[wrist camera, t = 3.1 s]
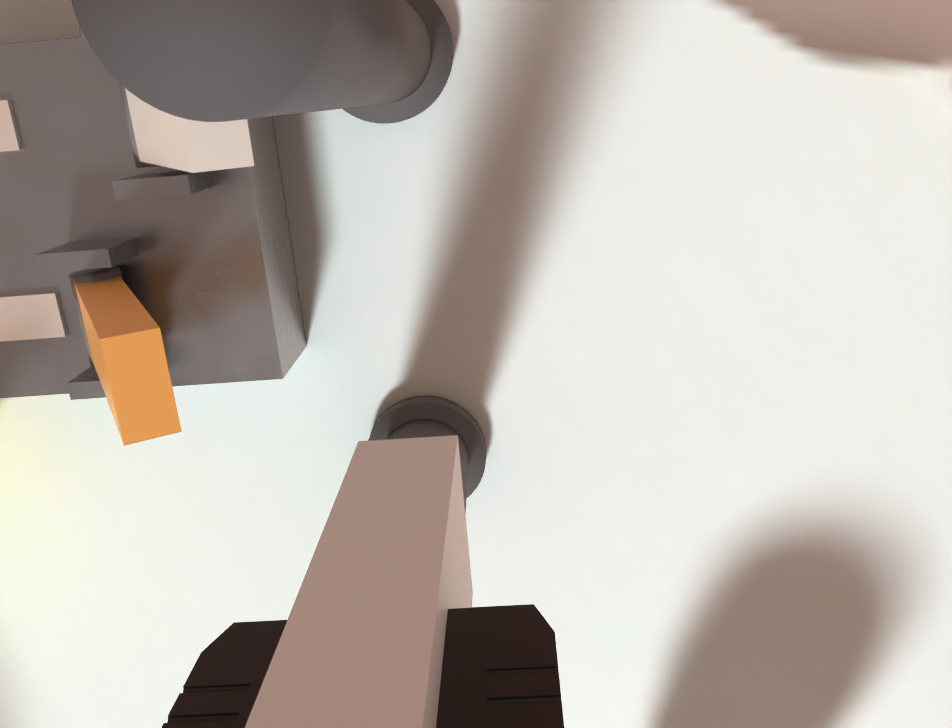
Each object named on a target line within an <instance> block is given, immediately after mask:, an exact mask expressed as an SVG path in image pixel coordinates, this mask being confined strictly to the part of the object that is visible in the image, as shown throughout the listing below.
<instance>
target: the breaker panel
mask: <svg viewBox="0 0 952 728" xmlns="http://www.w3.org/2000/svg"><path fill="white" fill-rule="evenodd" d="M80 35H81V37H78V38H67V39H56V40H44V41H33V42H22V43H11V44H0V398H9V397H23V396H38V395H52V394H67V393H69V394H70V398H71V400H72V399H87V398H101V397H106V396H105V393H104V390H103V388H102V385H101V382H100V380H99V377H98V374H97V371H96V369H95V368H92V367H91V366H90V362H89V358H88V354H87V350H86V345H85V341H84V337H83V333H82V329H81V324H80V320H79V316H78V312H77V308H76V303H75V299H74V295H73V291H72V287H71V282H70V278H69V274H71V273H74V272H77V271H81V270H85V269H97V268H110V267H120V271H121V276H122V280H123V281H124V282H125V284H126V285H127V286H128V287H129V289H130V290H131V291H132V293H133V294H134V295H135V296H136V298H137V299H138V300H139V302H140V303H141V304H142V305H143V307H144V308H145V309H146V311H147V312H148V313H149V314H150V316H151V317H152V318H153V320H154V321H155V322H156V323H157V325H158V326H159V327H160V331H161V336H162V340H163V345H164V350H165V355H166V360H167V365H168V369H169V374H170V379H171V384H172V386H183V385H198V384H212V383H227V382H241V381H256V380H270V379H283V378H284V376H285V375H286V374H287V372H288V371H289V369H290V368H291V367H292V365H293V364H294V363H295V361H296V360H297V359H298V357H299V356H300V354H301V353H302V352H303V350H304V349H305V348H306V340H305V333H304V327H303V320H302V313H301V307H300V300H299V293H298V287H297V280H296V273H295V267H294V260H293V253H292V247H291V240H290V233H289V227H288V220H287V214H286V207H285V200H284V194H283V187H282V180H281V174H280V167H279V160H278V154H277V147H276V140H275V134H274V127H273V120H272V116H270V117H261V118H252V119H247V122H248V129H249V135H250V141H251V147H252V154H253V160H254V166H250V167H241V168H232V169H223V170H215V171H206V172H197V173H191V172H186V171H182V170H177V169H173V168H168V167H164V166H158V167H145V168H136V165H135V160H134V155H133V151H132V146H131V141H130V136H129V131H128V126H127V121H126V116H125V111H124V106H123V101H122V97H121V92H120V87H119V82H118V81H117V80H116V79H115V78H114V77H113V76H112V75H111V74H110V72H109V71H108V70H107V69H106V68H105V67H104V66H103V64H102V63H101V62H100V60H99V59H98V57H97V56H96V54H95V53H94V51H93V50H92V48H91V47H90V45H89V43H88V41H87V39H86V37H85V35H84V34H83V32H82V29H81V30H80Z"/></svg>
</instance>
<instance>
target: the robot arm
mask: <svg viewBox="0 0 952 728" xmlns="http://www.w3.org/2000/svg"><path fill="white" fill-rule="evenodd" d="M183 688H184V690H183V693H180V694H179V696H178V698H177V700H176V702H175V703H174V705H173V707H172V709H171V711H170V713H169V715H168V723H164V724H163V726H162V728H564V723H563V712H562V702H561V692H560V682H559V673H558V662H557V652H556V642H555V632H554V631H553V629H552V628H551V627H550V625H549V624H548V623H547V621H546V620H545V619H544V617H543V616H542V615H541V613H540V612H539V611H538V610H537V608H536V607H535V606H534V604H533V605H513V606H494V607H474V608H472V581H471V570H470V560H469V549H468V539H467V528H466V517H465V507H464V496H463V485H462V475H461V464H460V453H459V443H458V435H453V436H437V437H421V438H405V439H389V440H373V441H359V442H358V444H357V447H356V449H355V452H354V454H353V457H352V459H351V462H350V464H349V467H348V469H347V472H346V475H345V477H344V480H343V482H342V485H341V487H340V490H339V492H338V495H337V497H336V500H335V502H334V505H333V507H332V510H331V512H330V515H329V517H328V520H327V522H326V525H325V527H324V530H323V532H322V535H321V537H320V540H319V542H318V545H317V547H316V550H315V552H314V555H313V557H312V560H311V562H310V565H309V568H308V570H307V573H306V575H305V578H304V580H303V583H302V585H301V588H300V590H299V593H298V595H297V598H296V600H295V603H294V605H293V608H292V610H291V613H290V615H289V618H288V620H278V621H258V622H239V623H233V624H232V625H231V626H230V627H229V628H228V629H227V630H225V631H224V632H223V633H222V634H221V635H220V636H219V637H218V638H217V639H216V640H214V641H213V642H212V643H211V644H210V645H209V646H208V647H207V648H206V649H205V650H204V651H202V652H201V654H200V656H199V658H198V660H197V662H196V664H195V666H194V667H193V669H192V671H191V673H190V675H189V677H188V679H187V681H186V683H185V685H184V686H183Z"/></svg>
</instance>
